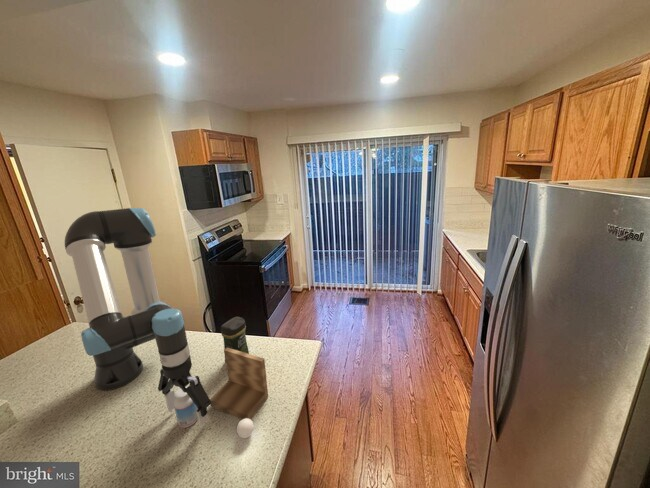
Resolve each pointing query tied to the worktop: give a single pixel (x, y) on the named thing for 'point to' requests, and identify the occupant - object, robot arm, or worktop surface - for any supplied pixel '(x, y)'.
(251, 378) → the brown piece
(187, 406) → the pill bottle
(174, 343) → the robot arm
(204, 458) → the worktop surface
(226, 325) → the coffee jar
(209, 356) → the worktop surface
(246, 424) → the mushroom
